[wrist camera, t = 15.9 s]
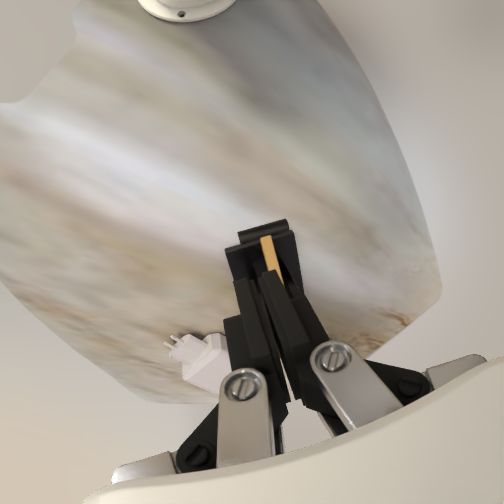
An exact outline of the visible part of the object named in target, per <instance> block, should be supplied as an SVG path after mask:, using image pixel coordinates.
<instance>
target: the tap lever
mask: <svg viewBox="0 0 504 504" xmlns="http://www.w3.org/2000/svg"><path fill="white" fill-rule="evenodd" d="M288 231H289V225H288V222H287V220H286V219H282V220H279V221H275V222H272V223H268V224H265V225H261V226H258V227H254V228H251V229H247V230H244V231H240V232H238V237H239V240H240V243H241V245H243V244H247V243H250V242H254V241H257V240H260V243H261V246H262V250H263V254H264V257H265V261H266V265H267V268H268V271H270V270H273V269H276V271H277V273H278V275H279V277H280V279H281V281H282V283H283V280H282V276H281V272H280V268H279V264H278V261H277V257H276V253H275V249H274V245H273V242H272V238H271V236H275V235H278V234H281V233H285V232H288ZM283 285H284V284H283Z"/></svg>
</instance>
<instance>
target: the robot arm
mask: <svg viewBox="0 0 504 504" xmlns="http://www.w3.org/2000/svg"><path fill="white" fill-rule="evenodd" d="M138 1H139V3H140V5H141V6H142V7H143V8H144V9H145V10H146V11H147V12H149V13H150V14H152V15H153V16H155V17H158V18H160V19H163V20H167V21H172V22H194V21H199V20H204V19H207V18H210V17H212V16H215V15H217V14H219V13H221V12H223V11H224V10H226V9H227V8H228V7H230V6H231V5H232V4H233V3H234V2H235V1H236V0H138ZM180 15H184V17H180ZM258 282H259V286H260V290H261V294H262V297H263V301H264V305H265V309H266V312H267V316H268V320H269V324H270V327H271V330H270V327H269V324H268V321H267V318H266V316H265V313H264V310H263V307H262V304H261V301H260V298H259V295H258V292H257V289H256V286H255V283H254V280H250V281H248V280H247V277H246V278H243V279H240V280H236V281H233V283H234V287H235V292H236V296H237V300H238V305H239V309H240V313H241V314H240V315H237V316H233V317H230V318H226V319H223V323H224V329H225V335H226V341H227V347H228V353H229V359H230V365H231V371H232V372H231V373H229V374H228V375H227V376H226V377H225V378H224V379H223V381H222V382H221V385H220V389H219V403H218V404H217V405H216V407H215V408H214V409H213V410H212V411H211V412H210V413H209V415H208V416H207V417H206V418H205V419H204V420H203V421H202V423H201V424H200V425H199V426H198V427H197V428H196V429H195V430H194V432H193V433H192V434H191V435H190V436H189V437H188V438H187V439H186V440H185V442H184V443H183V444H182V445H181V446H180V448H179V449H178V451H175V452H172V453H170V452H169V451H167V452H164V453H162V454H158V455H155V456H152V457H149V458H146V459H143V460H139V461H136V462H133V463H129V464H125V465H122V466H120V467H118V468H117V469H116V470H115V471H114V472H113V475H112V484H110V485H107V486H105V487H103V488H101V489H98V490H97V491H95V492H93V493H92V494H90V495H89V496H88V497H87V498H86V499H85V500H84V501H83V503H82V504H504V357H500V358H496V359H493V360H490V361H487V360H486V359H485V358H484V357H482V356H481V355H477V354H472V355H467V356H465V357H462V358H459V359H456V360H453V361H450V362H447V363H444V364H440V365H438V366H434V367H431V368H427V369H426V371H425V372H422V373H419V372H416V371H413V370H409V369H404V368H399V367H395V366H390V365H385V364H382V363H377V362H373V361H368V360H365V359H363V358H362V357H361V356H360V355H359V354H358V353H357V351H356V350H355V349H354V348H353V347H352V346H351V345H349V344H348V343H346V342H343V341H337V340H334V341H330V339H329V337H328V336H327V334H326V332H325V330H324V328H323V326H322V325H321V323H320V321H319V319H318V317H317V315H316V314H315V312H314V310H313V308H312V306H311V305H310V303H309V301H308V299H307V298H306V296H305V295H303V296H300V297H297V298H293V299H290V298H289V296H288V294H287V292H286V290H285V287H284V285H283V283H282V281H281V279H280V277H279V275H278V273H277V271H276V269H273V270H270V271H267V272H263V273H262V277H260V278H258ZM271 331H272V333H271ZM272 334H273V336H272ZM273 337H274V339H273ZM274 340H275V342H274ZM275 343H276V345H275ZM276 346H277V348H278V351H279V354H280V357H281V360H282V363H283V366H284V369H285V371H286V374H287V377H288V380H289V383H290V386H291V389H292V391H293V394H294V397H295V400H297V399H301V400H302V402H303V405H304V406H305V405H306V407H307V408H309V409H312V410H315V411H317V413H318V416H319V417H320V419H321V421H322V422H323V424H324V425H325V427H326V429H327V430H328V432H329V433H330V435H331V436H332V438H331V439H328V440H325V441H323V442H320V443H317V444H314V445H311V446H308V447H304V448H301V449H298V450H295V451H291V452H288V453H285V445H284V437H283V427H282V422H283V421H284V419H285V418H286V416H287V415H288V410H287V406H286V403H288V402H291V399H290V395H289V392H288V388H287V384H286V380H285V377H284V373H283V369H282V365H281V362H280V358H279V354H278V351H277V348H276Z"/></svg>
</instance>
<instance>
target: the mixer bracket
mask: <svg viewBox="0 0 504 504" xmlns="http://www.w3.org/2000/svg"><path fill="white" fill-rule="evenodd" d="M271 238H272V242H273V245H274V249H275V253H276V257H277V261H278V264H279V268H280V272H281V276H282V280H283V284H284V287H285V290H286V292H287V294H288V296H289V298H290V299H293V298H297V297H300V296H303V295H304V290H303V283H302V277H301V271H300V265H299V259H298V253H297V248H296V242H295V236H294V233H293V231H292V230H289V231H288V232H285V233H281V234H278V235H275V236H271ZM225 253H226V257H227V260H228V263H229V266H230V269H231V272H232V276H233V279H234V281H236V280H240V279H243V278H246V277H247V280H248V281H250V280H254V283H255V286H256V289H257V292H258V295H259V298H260V301H261V304H262V307H263V310H264V313H265V316H266V318H267V321H268V324H269V320H268V316H267V312H266V309H265V305H264V301H263V297H262V294H261V290H260V286H259V282H258V278H260V277H262V273H263V272H267V271H268V268H267V265H266V261H265V257H264V254H263V250H262V246H261V243H260V240H257V241H254V242H250V243H247V244H243V245H241V244H240V245H236V246H233V247H230V248H226V249H225ZM269 327H270V324H269ZM270 330H271V327H270ZM271 333H272V331H271ZM272 336H273V334H272ZM273 339H274V337H273ZM274 342H275V340H274ZM275 345H276V343H275ZM276 348H277V346H276ZM277 351H278V348H277ZM278 354H279V351H278ZM279 358H281V357H280V354H279Z"/></svg>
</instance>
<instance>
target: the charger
mask: <svg viewBox="0 0 504 504" xmlns="http://www.w3.org/2000/svg"><path fill="white" fill-rule="evenodd" d="M170 338H172V339H174V340H175V341H177V343H176V344H175V345H174V346H173V345H171V344H169V343H167V342H164V345H166V346H168V347H170V348H172V349H171V351H170V353H169V355H168V356H170V357H172V358H174V359H176V360H178V361H179V362H181V363H182V376H183V380H185V381H187V382H189V383H191V384H193V385H196V386H198V387H200V388H202V389H205V390H207V391H209V392H212V393H214V394H216V395H219V389H220V385H221V382H222V381H223V379H224V378H225V377H226V376H227V375H228V374H229V373H231V372H232V371H231V365H230V359H229V353H228V347H227V341H226V337H225V336H223V335H222V334H220V333H214V334H209V335H208V336H206V337H205V338H204V339H203V340H202V341H201V340H199V339H197V338H196V337H194V336H192V335H190V334H188V335H185V336H183V337H182V338H181V339H178V338H177V337H175V336H173V335H171V336H170Z"/></svg>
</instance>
